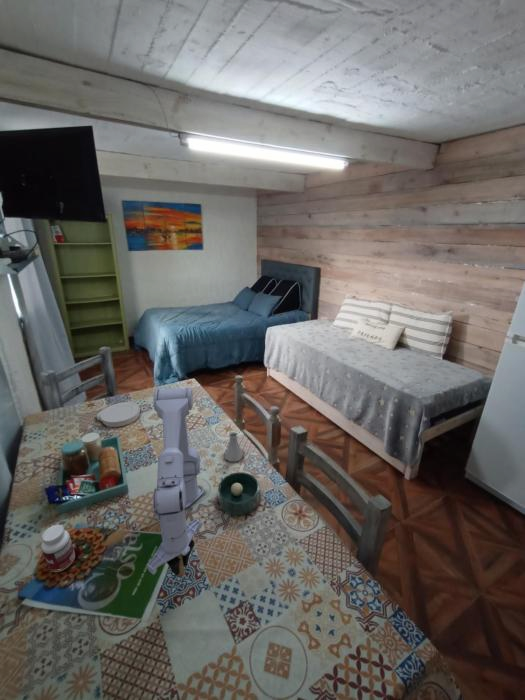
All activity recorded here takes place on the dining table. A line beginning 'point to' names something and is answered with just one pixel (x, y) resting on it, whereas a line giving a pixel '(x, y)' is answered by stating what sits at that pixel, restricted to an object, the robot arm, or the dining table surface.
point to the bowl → (244, 500)
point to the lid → (119, 414)
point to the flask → (233, 449)
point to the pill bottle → (57, 548)
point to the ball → (236, 489)
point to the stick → (181, 567)
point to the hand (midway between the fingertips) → (179, 568)
